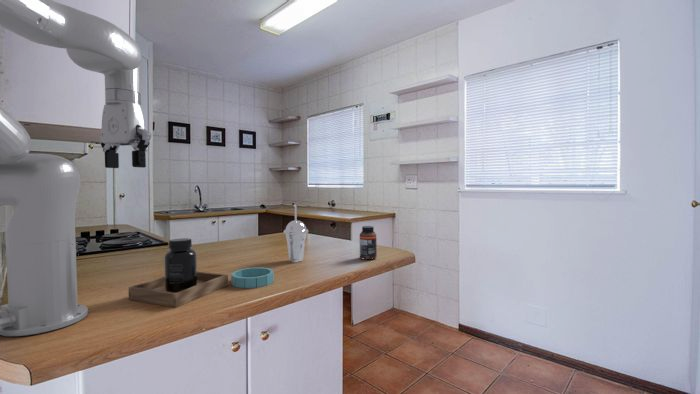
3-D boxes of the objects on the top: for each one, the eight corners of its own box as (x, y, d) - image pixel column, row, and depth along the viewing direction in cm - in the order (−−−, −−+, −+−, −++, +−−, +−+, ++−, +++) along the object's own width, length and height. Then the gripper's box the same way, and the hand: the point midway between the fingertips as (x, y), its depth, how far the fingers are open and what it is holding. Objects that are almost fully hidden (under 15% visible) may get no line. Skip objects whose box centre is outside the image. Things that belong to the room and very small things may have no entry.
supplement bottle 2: (368, 255, 120) (368, 225, 119) (380, 258, 115) (380, 226, 115) (356, 258, 116) (356, 226, 116) (367, 261, 112) (367, 228, 111)
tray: (176, 307, 70) (175, 294, 70) (128, 299, 74) (128, 287, 74) (228, 285, 85) (227, 274, 85) (185, 280, 89) (185, 270, 89)
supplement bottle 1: (203, 286, 81) (202, 238, 81) (178, 295, 75) (177, 243, 74) (183, 283, 84) (182, 236, 83) (158, 291, 78) (157, 240, 77)
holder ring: (257, 289, 81) (257, 279, 81) (223, 285, 85) (222, 275, 85) (280, 278, 91) (280, 269, 91) (248, 274, 95) (248, 266, 95)
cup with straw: (313, 259, 114) (313, 201, 113) (298, 265, 106) (298, 203, 105) (293, 257, 118) (293, 201, 117) (277, 262, 110) (276, 202, 109)
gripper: (84, 99, 83) (86, 167, 84) (133, 93, 77) (135, 166, 78) (114, 106, 90) (116, 168, 91) (161, 100, 84) (163, 167, 85)
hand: (125, 167), depth 84 cm, fingers open, 9 cm apart
